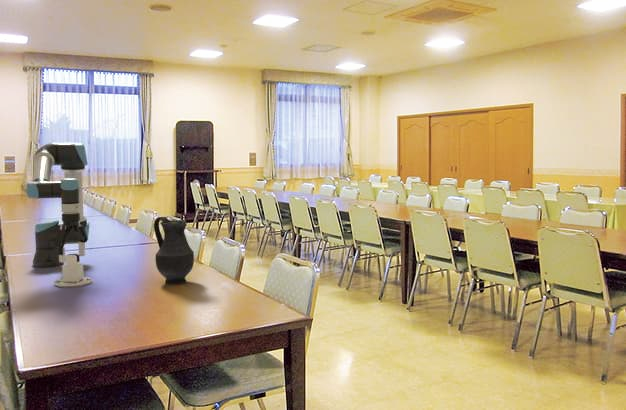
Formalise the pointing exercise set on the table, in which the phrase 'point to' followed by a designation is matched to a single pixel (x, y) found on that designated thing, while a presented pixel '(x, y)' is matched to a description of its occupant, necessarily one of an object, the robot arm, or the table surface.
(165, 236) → the pitcher
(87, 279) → the flange
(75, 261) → the medicine bottle
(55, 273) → the table surface
